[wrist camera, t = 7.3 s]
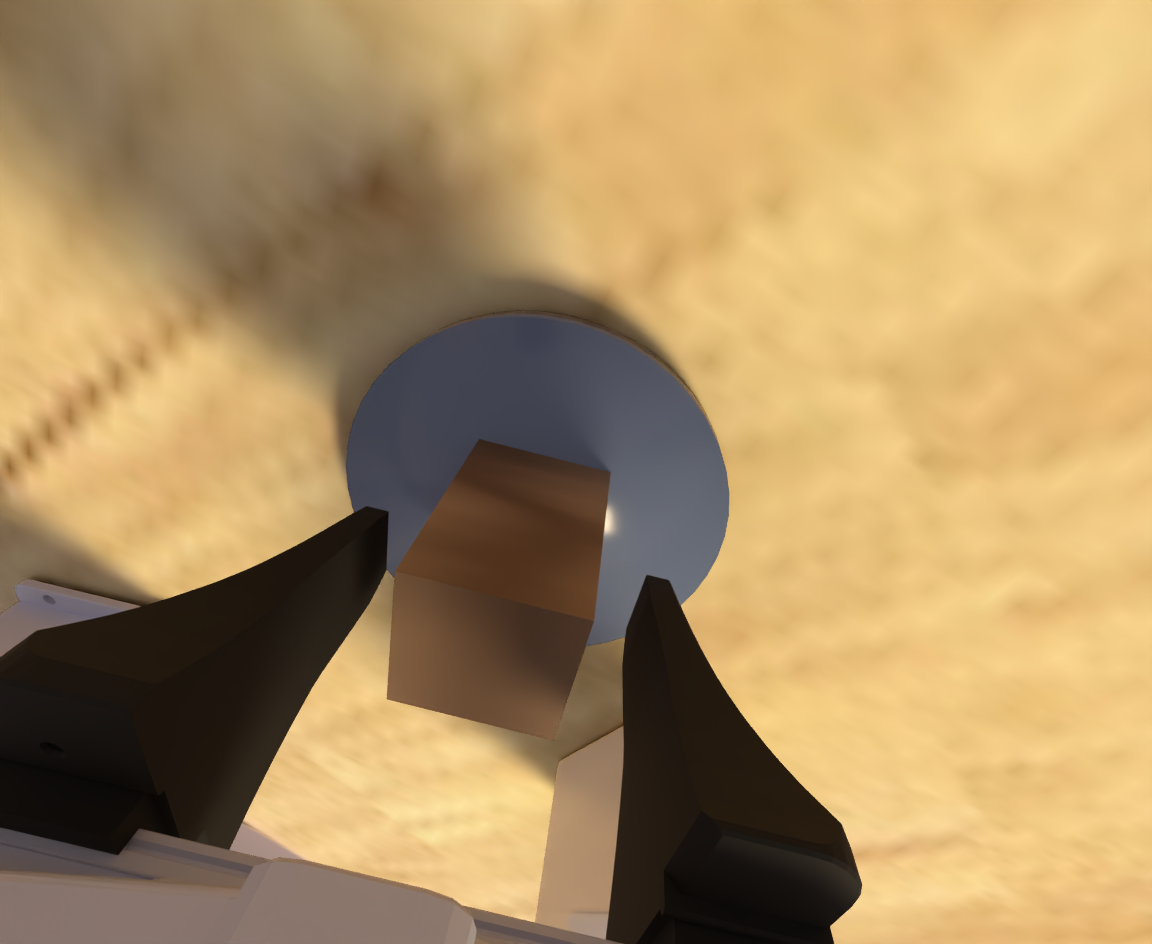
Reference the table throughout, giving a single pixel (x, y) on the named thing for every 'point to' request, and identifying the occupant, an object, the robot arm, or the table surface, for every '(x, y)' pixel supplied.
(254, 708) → the robot arm
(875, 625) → the table surface
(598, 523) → the walnut block
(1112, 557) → the table surface
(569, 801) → the jar
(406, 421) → the blue-grey round disc
